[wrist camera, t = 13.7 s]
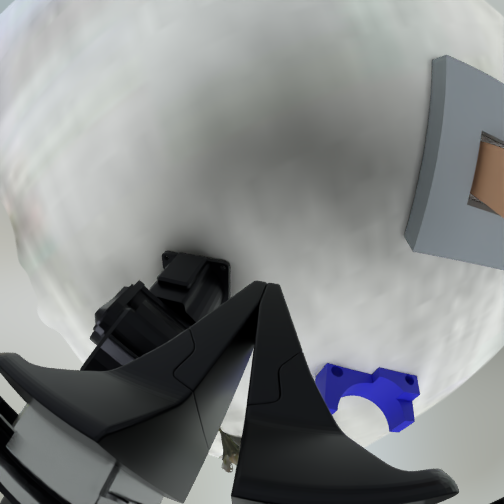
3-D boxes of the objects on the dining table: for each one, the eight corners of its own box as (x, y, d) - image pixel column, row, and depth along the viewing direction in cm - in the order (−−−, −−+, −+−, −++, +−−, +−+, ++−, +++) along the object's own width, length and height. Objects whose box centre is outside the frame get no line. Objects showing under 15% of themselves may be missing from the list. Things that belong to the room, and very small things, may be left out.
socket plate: (504, 258, 17) (516, 273, 15) (404, 236, 19) (412, 251, 17) (537, 116, 10) (554, 120, 8) (432, 59, 12) (446, 54, 10)
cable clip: (416, 374, 26) (423, 415, 21) (395, 393, 28) (398, 432, 23) (333, 353, 27) (331, 400, 22) (315, 375, 29) (310, 418, 24)
